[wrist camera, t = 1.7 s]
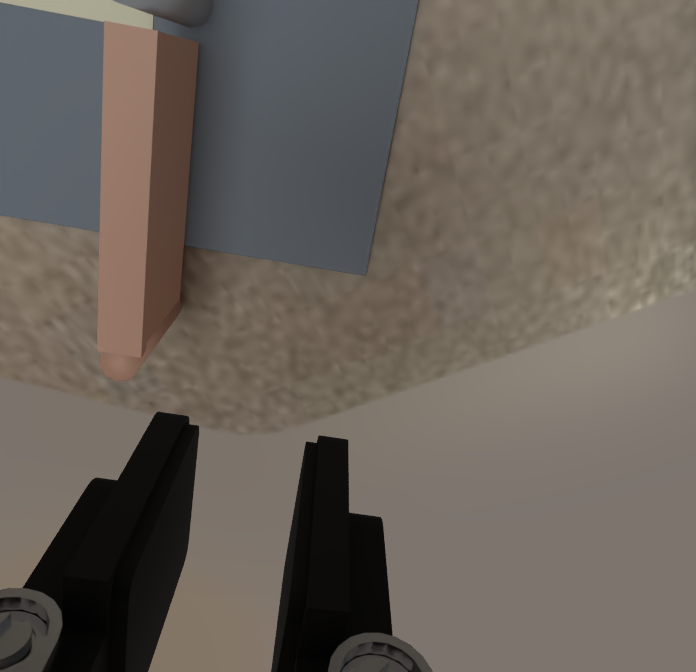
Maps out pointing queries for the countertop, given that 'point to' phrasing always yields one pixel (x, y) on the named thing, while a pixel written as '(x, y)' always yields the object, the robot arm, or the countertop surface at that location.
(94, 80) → the board
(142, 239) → the fence panel
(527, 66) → the countertop surface
